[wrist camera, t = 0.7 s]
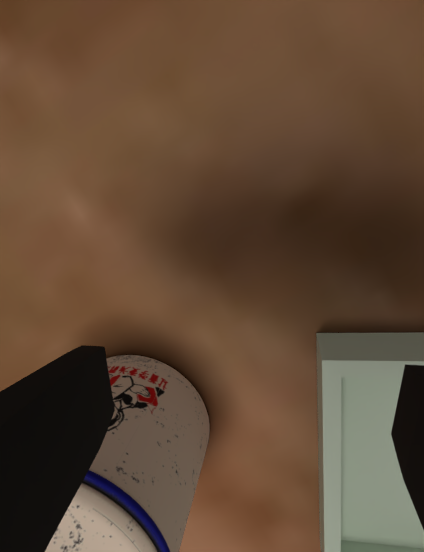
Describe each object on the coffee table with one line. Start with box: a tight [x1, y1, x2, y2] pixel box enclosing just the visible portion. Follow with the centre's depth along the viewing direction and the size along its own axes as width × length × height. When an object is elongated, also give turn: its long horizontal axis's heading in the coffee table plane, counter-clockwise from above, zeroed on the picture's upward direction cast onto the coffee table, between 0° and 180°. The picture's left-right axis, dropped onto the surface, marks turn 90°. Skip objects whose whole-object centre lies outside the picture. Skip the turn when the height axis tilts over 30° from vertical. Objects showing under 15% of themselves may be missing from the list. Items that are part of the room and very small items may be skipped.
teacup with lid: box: [45, 355, 210, 552], centre depth 17 cm, size 12×9×12 cm
